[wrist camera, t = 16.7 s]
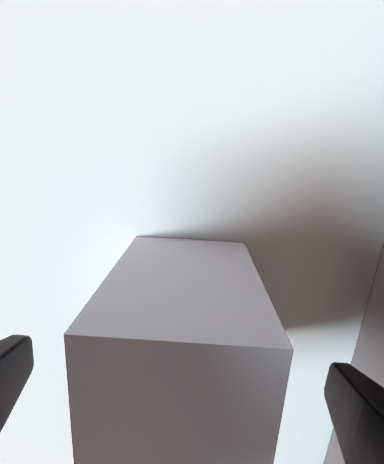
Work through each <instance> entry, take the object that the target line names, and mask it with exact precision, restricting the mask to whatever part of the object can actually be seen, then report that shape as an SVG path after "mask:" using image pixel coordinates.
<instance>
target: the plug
mask: <svg viewBox="0 0 384 464" xmlns="http://www.w3.org/2000/svg"><path fill="white" fill-rule="evenodd" d="M64 342H65V355H66V368H67V380H68V393H69V406H70V419H71V432H72V444H73V457H74V464H273V462H274V457H275V451H276V445H277V440H278V434H279V428H280V423H281V417H282V411H283V406H284V400H285V394H286V388H287V383H288V377H289V371H290V366H291V360H292V354H293V348H292V345H291V343H290V341H289V339H288V337H287V335H286V332H285V330H284V328H283V326H282V324H281V321H280V319H279V317H278V315H277V313H276V310H275V308H274V306H273V304H272V302H271V300H270V297H269V295H268V293H267V291H266V289H265V286H264V284H263V282H262V280H261V278H260V276H259V273H258V271H257V269H256V267H255V265H254V262H253V260H252V258H251V256H250V254H249V252H248V249H247V247H246V245H245V243H243V242H227V241H210V240H194V239H177V238H161V237H144V236H136V238H135V239H134V241H133V242H132V243H131V245H130V246H129V247H128V249H127V250H126V251H125V253H124V254H123V255H122V257H121V258H120V259H119V261H118V262H117V263H116V265H115V266H114V267H113V269H112V270H111V272H110V273H109V274H108V276H107V277H106V278H105V280H104V281H103V282H102V284H101V285H100V286H99V288H98V289H97V290H96V292H95V293H94V294H93V296H92V297H91V298H90V300H89V301H88V303H87V304H86V305H85V307H84V308H83V309H82V311H81V312H80V313H79V315H78V316H77V317H76V319H75V320H74V321H73V323H72V324H71V325H70V327H69V328H68V329H67V331H66V332H65V334H64Z"/></svg>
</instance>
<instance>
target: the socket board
mask: <svg viewBox="0 0 384 464" xmlns="http://www.w3.org/2000/svg"><path fill="white" fill-rule="evenodd" d="M351 365H352V366H353V367H355V368H356V369H358V370H359V371H360V372H362V373H363V374H365V375H366V376H368V377H369V378H370V379H372V380H373V381H375V382H376V383H378V384H379V385H380V386H382V387H383V388H384V245H383V249H382V252H381V256H380V260H379V263H378V267H377V271H376V274H375V278H374V282H373V285H372V289H371V293H370V296H369V300H368V304H367V307H366V311H365V315H364V318H363V322H362V326H361V329H360V333H359V337H358V340H357V344H356V348H355V351H354V355H353V358H352V362H351ZM324 464H345V462H344V459H343V456H342V453H341V450H340V446H339V443H338V440H337V436H336V433H335V430H334V428H333V432H332V435H331V439H330V443H329V446H328V450H327V454H326V457H325V461H324Z"/></svg>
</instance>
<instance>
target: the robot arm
mask: <svg viewBox="0 0 384 464" xmlns="http://www.w3.org/2000/svg"><path fill="white" fill-rule="evenodd" d="M33 365H34V359H33V348H32V339H31V338H30V337H29V336H26V335H11V336H9V337H7V338H5V339H3V340H0V432H1V430H2V428H3V426H4V425H5V423H6V421H7V419H8V417H9V415H10V413H11V411H12V409H13V407H14V405H15V403H16V401H17V400H18V398H19V396H20V394H21V392H22V390H23V388H24V386H25V384H26V382H27V380H28V378H29V376H30V374H31V372H32V369H33ZM324 395H325V400H326V403H327V406H328V410H329V413H330V416H331V420H332V423H333V426H334V430H335V433H336V436H337V440H338V443H339V446H340V450H341V453H342V456H343V459H344V462H345V464H384V388H383V387H382V386H380V385H379V384H378V383H376V382H375V381H373V380H372V379H370V378H369V377H368V376H366V375H365V374H363V373H362V372H360V371H359V370H358V369H356V368H355V367H353V366H352V365H350V364H348V363H338V362H334V363H332V364H331V365H330V368H329V372H328V376H327V380H326V384H325V388H324Z"/></svg>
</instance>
